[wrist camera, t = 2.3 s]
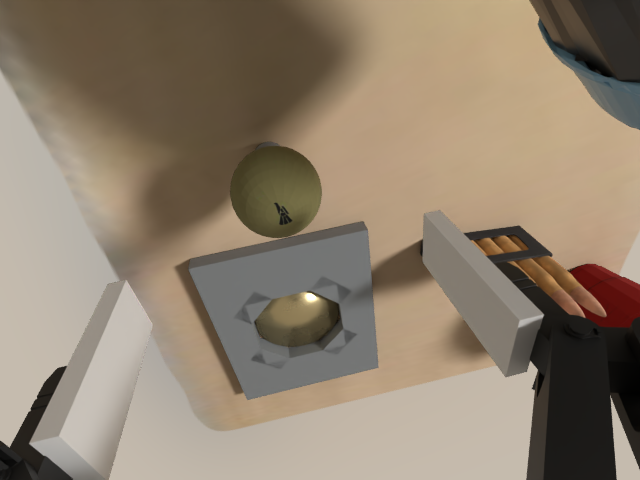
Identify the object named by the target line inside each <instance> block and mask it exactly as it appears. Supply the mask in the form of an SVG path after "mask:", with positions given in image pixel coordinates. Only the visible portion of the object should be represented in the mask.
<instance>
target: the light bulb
mask: <svg viewBox="0 0 640 480" xmlns="http://www.w3.org/2000/svg"><path fill="white" fill-rule="evenodd" d="M321 196H322V189H321V183H320V179H319V176H318V174H317V172H316V170H315V168H314V167H313V165H312V164H311V162H310V161H309V160H308V159H307V158H305V157H304V156H303V155H302V154H300V153H299V152H297V151H295V150H293V149H290V148H287V147H282V146H280V145H278V144H277V143H274V142H265V143H262V144H260V145H259V146H258V147H257V148H256V149H255V151H253V152H252V153H250V154H249V155H247V156H246V157H245V158H244V159H243V160H242V161H241V162H240V164H239V165H238V167H237V168H236V170H235V172H234V174H233V177H232V181H231V188H230V197H231V201H232V205H233V208H234V210H235V212H236V214H237V216H238V218H239V219H240V220H241V221H242V223H243V224H244V225H245V226H247V227H248V228H249V229H250V230H252V231H253V232H255V233H257V234H260V235H262V236H266V237H271V238H282V237H288V236H291V235H294V234H296V233H298V232H300V231H301V230H303V229H304V228H305V227H307V226H308V225H309V224H310V223H311V221H312V220H313V219H314V217H315V216H316V214H317V212H318V209H319V206H320V203H321Z"/></svg>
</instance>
